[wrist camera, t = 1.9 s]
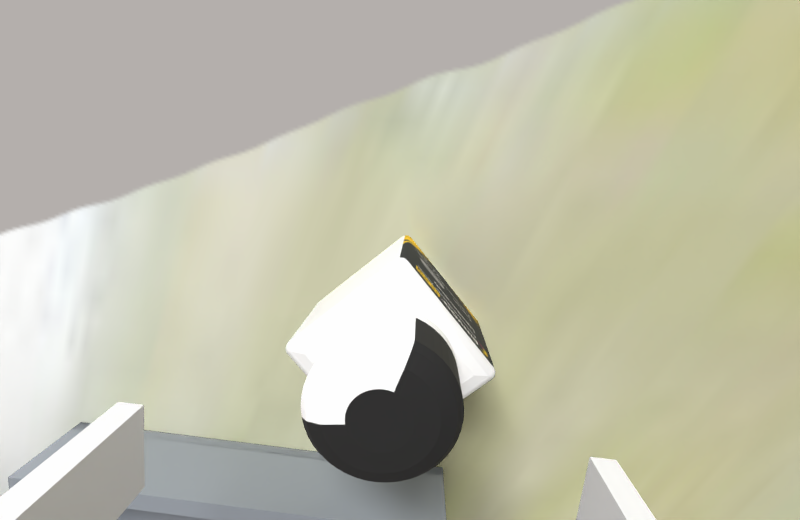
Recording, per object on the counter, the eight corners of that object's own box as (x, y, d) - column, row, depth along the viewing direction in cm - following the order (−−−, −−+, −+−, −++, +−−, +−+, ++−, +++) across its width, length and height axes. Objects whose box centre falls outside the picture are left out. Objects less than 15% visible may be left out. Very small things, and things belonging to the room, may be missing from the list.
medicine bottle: (480, 323, 28) (522, 439, 16) (388, 389, 29) (366, 542, 17) (407, 231, 27) (395, 284, 15) (315, 303, 28) (238, 403, 16)
